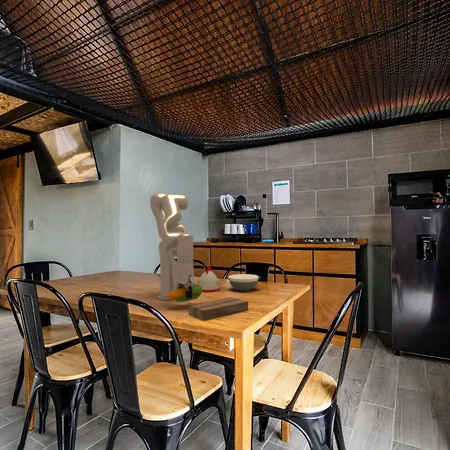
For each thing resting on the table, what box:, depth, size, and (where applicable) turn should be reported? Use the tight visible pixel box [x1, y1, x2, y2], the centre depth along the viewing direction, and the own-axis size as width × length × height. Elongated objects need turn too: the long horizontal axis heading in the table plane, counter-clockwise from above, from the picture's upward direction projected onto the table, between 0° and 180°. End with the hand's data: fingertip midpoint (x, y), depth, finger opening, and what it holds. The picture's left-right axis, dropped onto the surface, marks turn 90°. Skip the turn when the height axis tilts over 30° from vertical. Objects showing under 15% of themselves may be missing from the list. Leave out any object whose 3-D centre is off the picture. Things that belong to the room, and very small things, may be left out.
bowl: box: [228, 273, 260, 292], centre depth 184 cm, size 19×19×8 cm
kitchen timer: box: [197, 265, 221, 294], centre depth 184 cm, size 14×14×15 cm
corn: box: [166, 283, 203, 303], centre depth 144 cm, size 7×8×20 cm
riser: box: [188, 296, 249, 322], centre depth 134 cm, size 12×24×4 cm, turn 128°
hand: (184, 296), depth 144 cm, fingers closed on corn, 7 cm apart
